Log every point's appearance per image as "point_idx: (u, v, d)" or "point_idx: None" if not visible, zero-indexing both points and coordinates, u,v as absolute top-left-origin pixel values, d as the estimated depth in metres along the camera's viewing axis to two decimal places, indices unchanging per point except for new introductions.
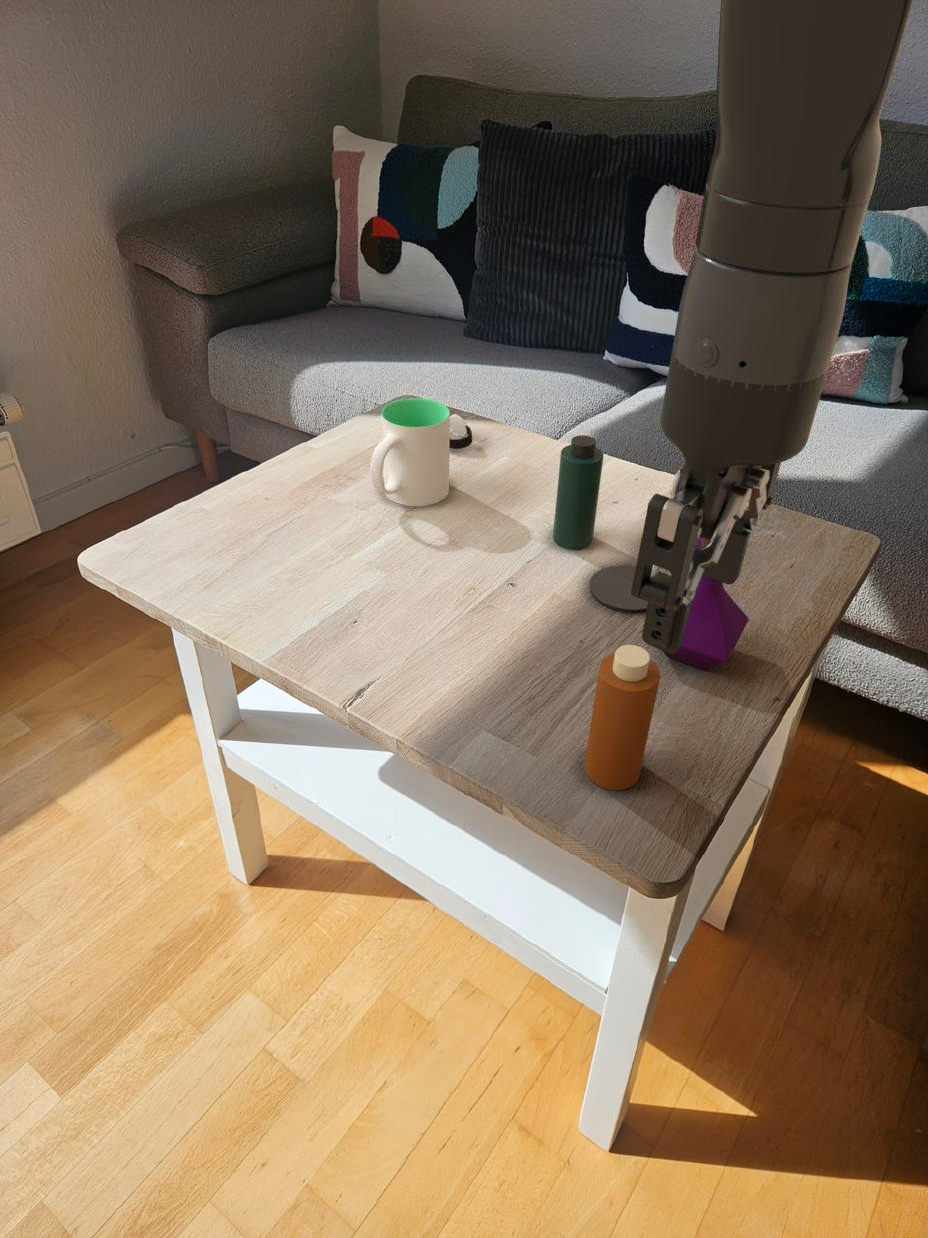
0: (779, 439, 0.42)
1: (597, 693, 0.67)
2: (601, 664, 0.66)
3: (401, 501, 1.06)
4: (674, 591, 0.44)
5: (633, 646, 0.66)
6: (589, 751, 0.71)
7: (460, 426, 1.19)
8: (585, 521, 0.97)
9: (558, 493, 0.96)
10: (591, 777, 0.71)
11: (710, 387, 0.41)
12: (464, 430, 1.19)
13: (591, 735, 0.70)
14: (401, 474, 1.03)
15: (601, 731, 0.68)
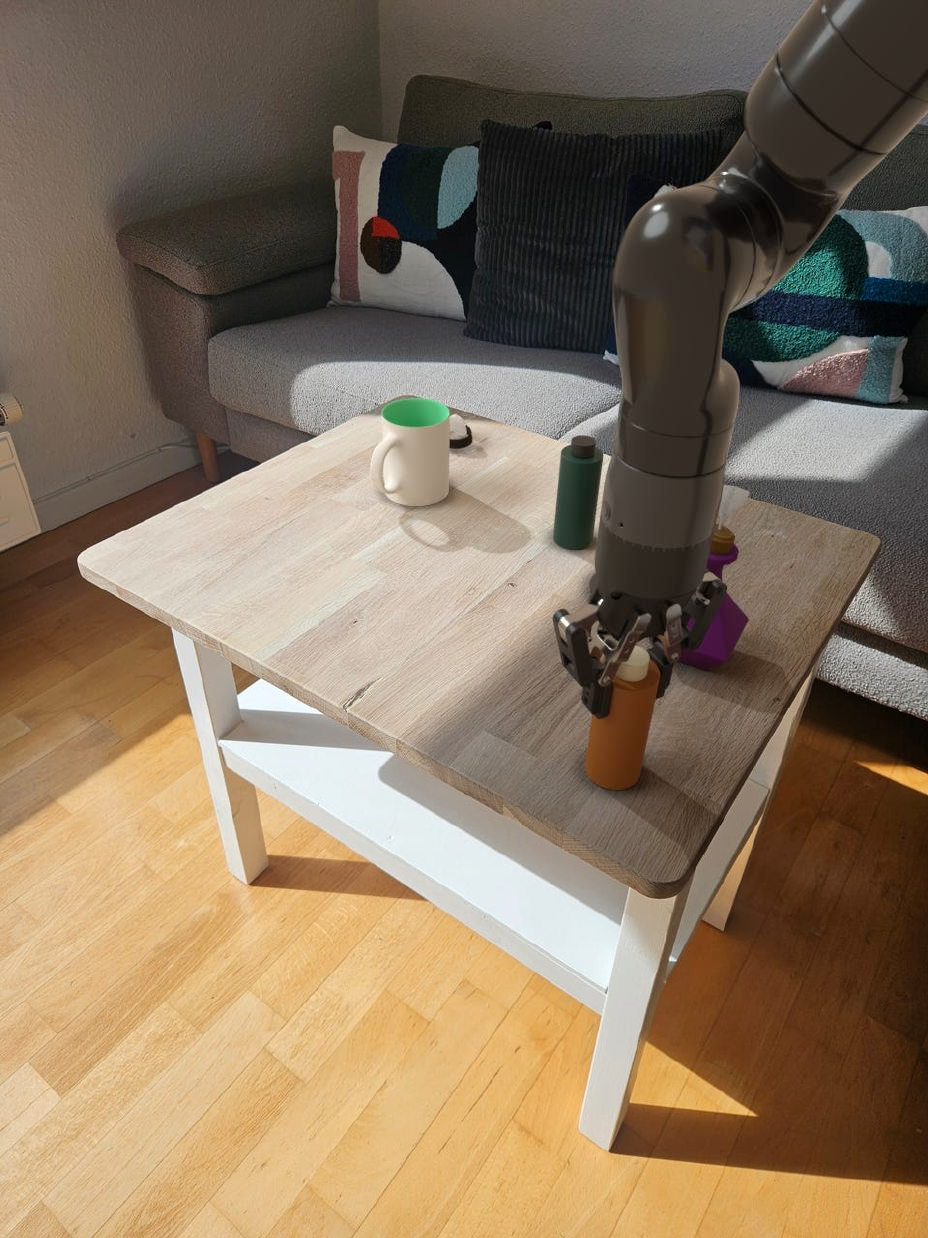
0: (651, 584, 0.56)
1: None
2: None
3: (401, 501, 1.06)
4: (577, 675, 0.62)
5: None
6: (589, 751, 0.71)
7: (460, 426, 1.19)
8: (585, 521, 0.97)
9: (558, 493, 0.96)
10: (591, 777, 0.71)
11: (606, 534, 0.57)
12: (464, 430, 1.19)
13: (591, 735, 0.70)
14: (401, 474, 1.03)
15: (601, 731, 0.68)
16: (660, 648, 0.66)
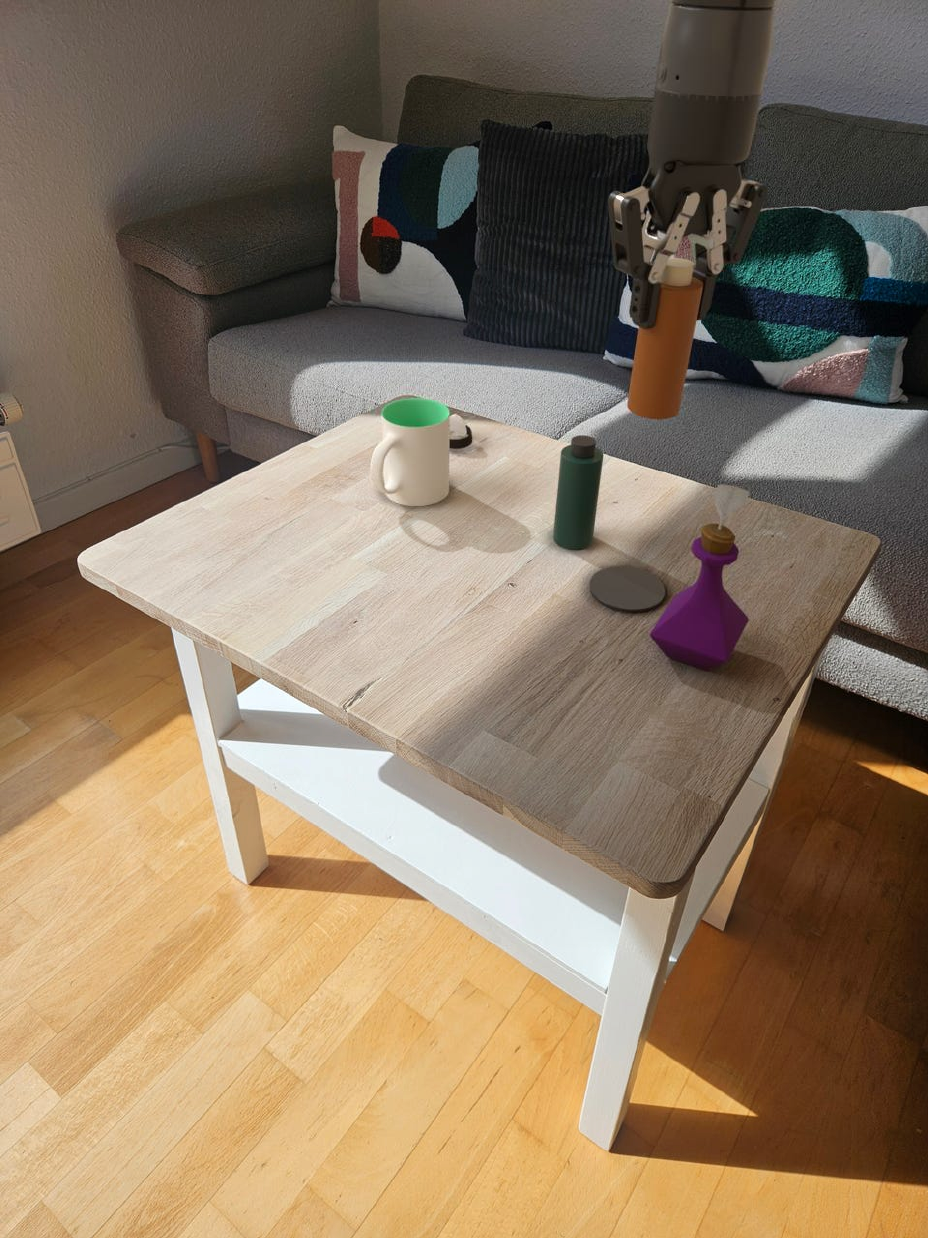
0: (703, 141, 0.61)
1: None
2: None
3: (401, 501, 1.06)
4: (629, 261, 0.66)
5: (678, 258, 0.70)
6: (633, 381, 0.75)
7: (460, 426, 1.19)
8: (585, 521, 0.97)
9: (558, 493, 0.96)
10: (634, 409, 0.76)
11: (661, 98, 0.61)
12: (464, 430, 1.19)
13: (636, 361, 0.74)
14: (401, 474, 1.03)
15: (646, 348, 0.72)
16: (703, 260, 0.70)
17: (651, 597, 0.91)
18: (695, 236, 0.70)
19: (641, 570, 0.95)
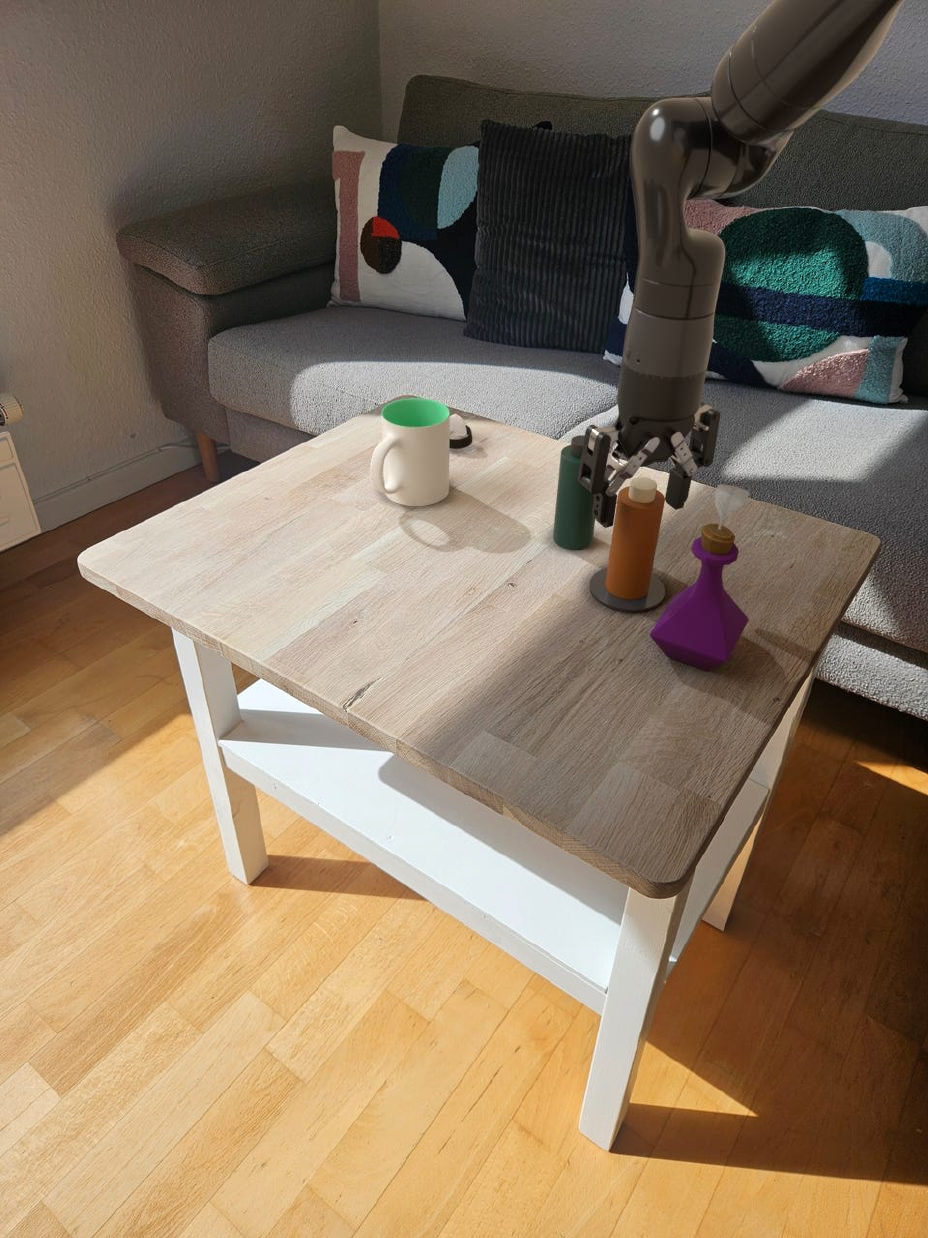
0: (659, 407, 0.76)
1: (616, 516, 0.87)
2: (619, 492, 0.86)
3: (401, 501, 1.06)
4: (592, 480, 0.80)
5: (644, 477, 0.86)
6: (609, 568, 0.91)
7: (460, 426, 1.19)
8: (585, 521, 0.97)
9: (558, 493, 0.96)
10: (610, 590, 0.91)
11: (626, 371, 0.77)
12: (464, 430, 1.19)
13: (611, 554, 0.90)
14: (401, 474, 1.03)
15: (619, 547, 0.88)
16: (681, 465, 0.86)
17: (651, 597, 0.91)
18: None
19: None
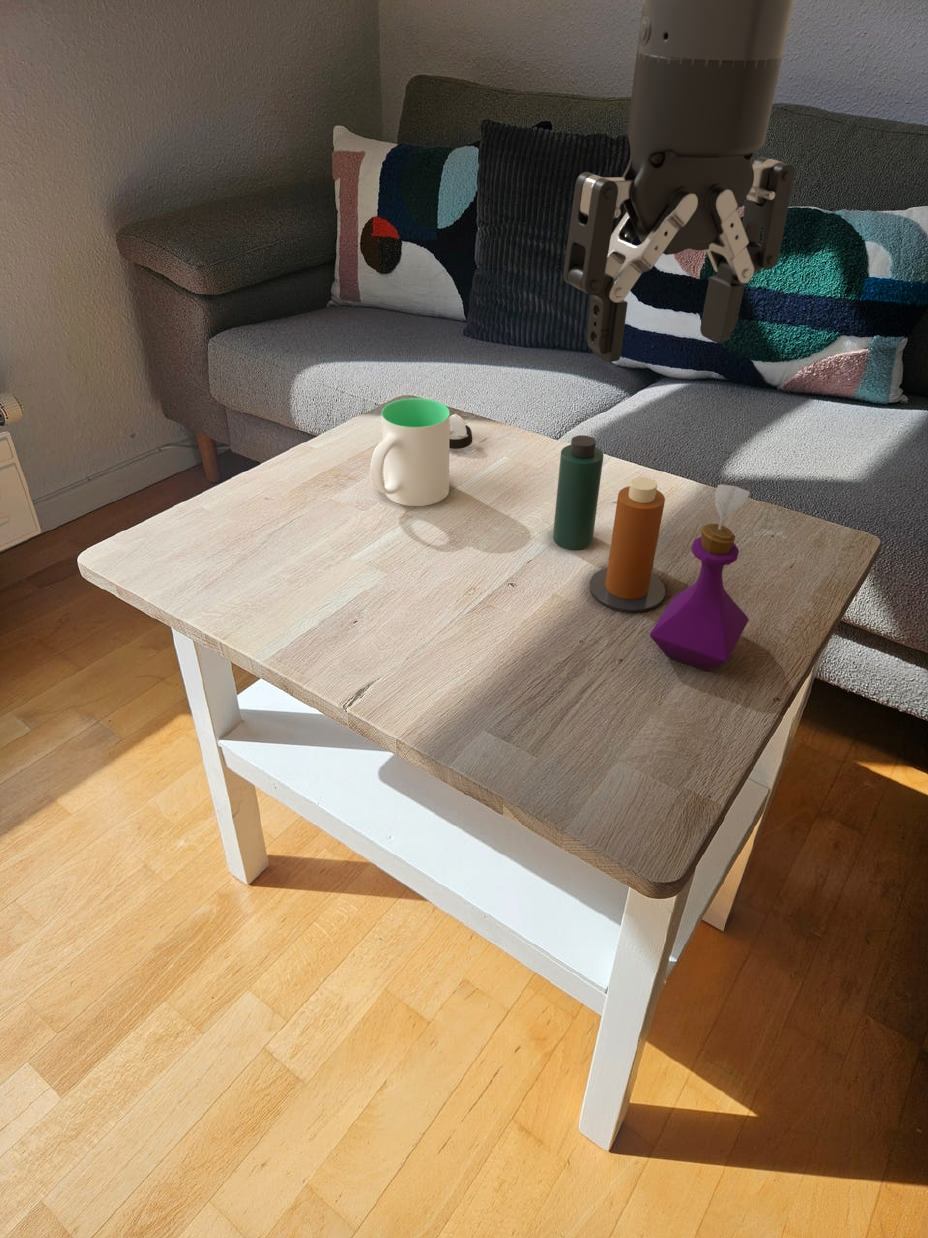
0: (702, 124, 0.45)
1: (616, 516, 0.87)
2: (619, 492, 0.86)
3: (401, 501, 1.06)
4: (587, 268, 0.49)
5: (644, 477, 0.86)
6: (609, 568, 0.91)
7: (460, 426, 1.19)
8: (585, 521, 0.97)
9: (558, 493, 0.96)
10: (610, 590, 0.91)
11: (645, 66, 0.45)
12: (464, 430, 1.19)
13: (611, 554, 0.90)
14: (401, 474, 1.03)
15: (619, 547, 0.88)
16: (728, 266, 0.54)
17: (651, 597, 0.91)
18: None
19: None
